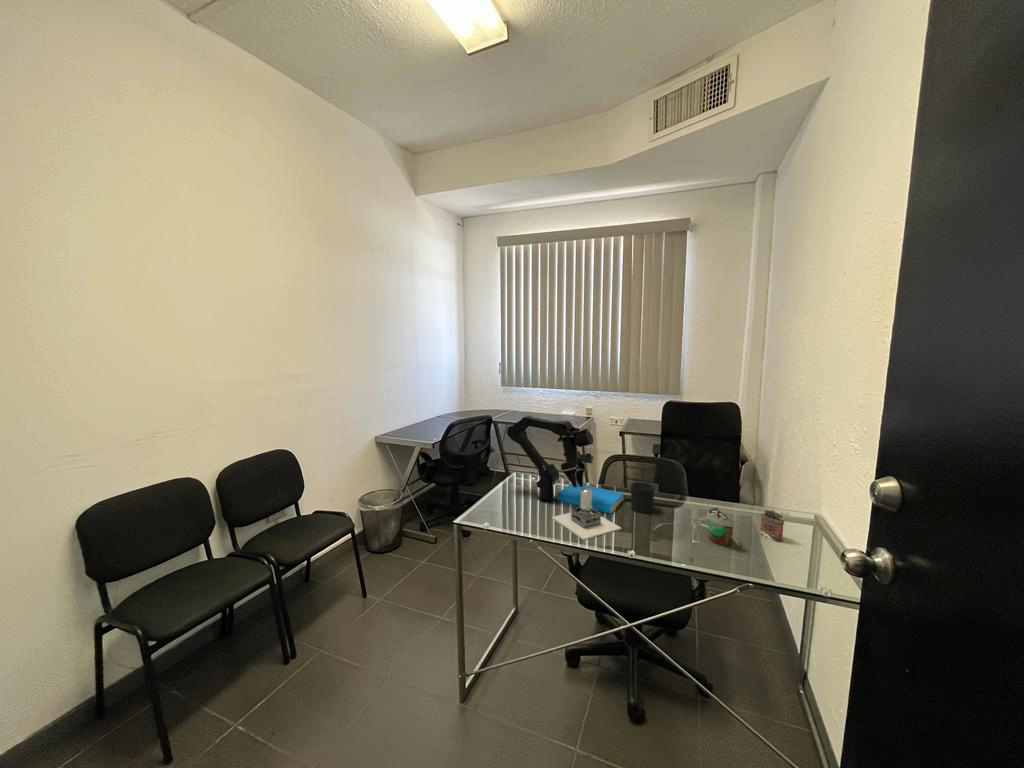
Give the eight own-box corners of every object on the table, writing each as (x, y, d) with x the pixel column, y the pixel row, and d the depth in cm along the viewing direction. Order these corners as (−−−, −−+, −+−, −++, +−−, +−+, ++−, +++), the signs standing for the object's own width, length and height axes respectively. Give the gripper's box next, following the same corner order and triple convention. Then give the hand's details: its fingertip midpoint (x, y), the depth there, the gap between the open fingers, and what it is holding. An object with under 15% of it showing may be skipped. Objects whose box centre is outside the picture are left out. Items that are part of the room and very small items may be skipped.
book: (572, 482, 192) (624, 492, 179) (572, 491, 193) (624, 501, 179) (556, 493, 178) (611, 505, 164) (556, 502, 178) (611, 515, 165)
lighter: (757, 533, 149) (758, 507, 148) (763, 531, 150) (764, 506, 149) (778, 543, 141) (780, 516, 140) (784, 541, 143) (787, 514, 142)
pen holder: (658, 510, 169) (659, 487, 168) (643, 515, 164) (644, 492, 163) (639, 503, 177) (640, 481, 176) (625, 507, 171) (626, 485, 170)
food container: (699, 532, 150) (700, 506, 149) (715, 532, 149) (717, 506, 148) (714, 548, 137) (716, 520, 136) (732, 549, 137) (734, 521, 136)
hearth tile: (552, 518, 160) (552, 517, 160) (587, 509, 169) (587, 508, 169) (583, 540, 143) (583, 538, 143) (621, 529, 151) (621, 527, 151)
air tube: (577, 522, 156) (578, 490, 154) (583, 518, 159) (584, 487, 158) (587, 526, 153) (588, 493, 151) (593, 522, 156) (594, 489, 155)
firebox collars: (571, 520, 157) (571, 509, 157) (587, 516, 161) (587, 505, 161) (584, 528, 150) (584, 516, 150) (600, 524, 154) (600, 512, 154)
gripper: (582, 444, 160) (591, 483, 155) (594, 447, 176) (602, 483, 172) (556, 450, 164) (564, 488, 159) (570, 452, 180) (577, 488, 175)
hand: (578, 487), depth 166 cm, fingers open, 9 cm apart
